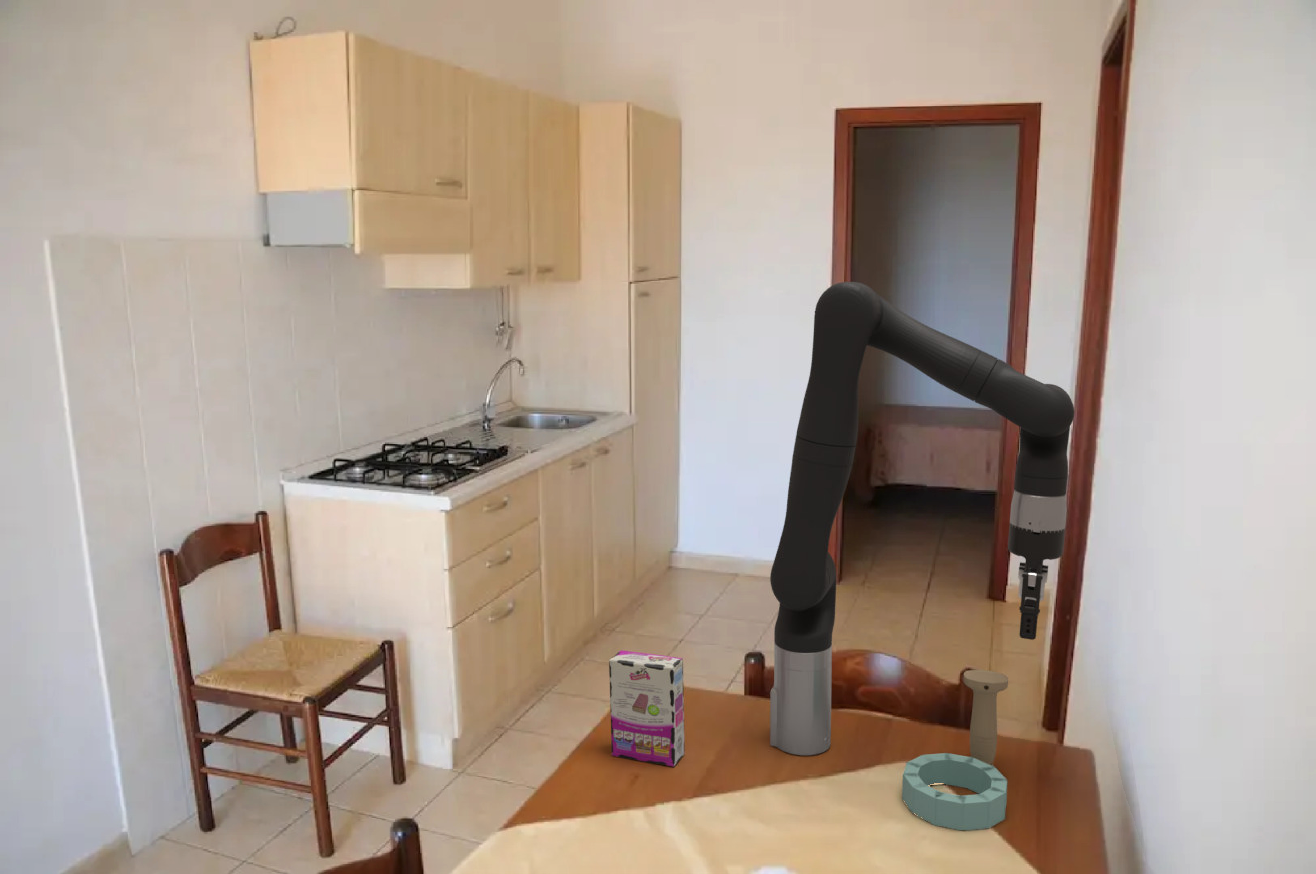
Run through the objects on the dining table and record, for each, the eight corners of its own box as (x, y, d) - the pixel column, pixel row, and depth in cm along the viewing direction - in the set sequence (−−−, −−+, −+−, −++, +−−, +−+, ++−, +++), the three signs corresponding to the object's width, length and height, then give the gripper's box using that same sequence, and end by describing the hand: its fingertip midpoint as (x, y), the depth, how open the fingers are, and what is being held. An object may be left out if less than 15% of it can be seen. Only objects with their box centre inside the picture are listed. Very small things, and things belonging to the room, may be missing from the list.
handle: (1005, 778, 143) (1009, 684, 141) (960, 773, 145) (964, 680, 143) (1003, 763, 148) (1007, 672, 146) (960, 758, 150) (963, 668, 148)
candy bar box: (685, 754, 153) (685, 657, 150) (674, 768, 148) (673, 668, 146) (622, 742, 157) (620, 648, 154) (609, 756, 152) (607, 659, 150)
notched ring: (896, 818, 133) (896, 791, 133) (910, 771, 146) (911, 747, 145) (1002, 839, 128) (1003, 811, 127) (1008, 788, 141) (1009, 763, 140)
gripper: (1012, 509, 145) (1004, 610, 148) (1007, 530, 132) (998, 640, 135) (1065, 514, 143) (1056, 617, 145) (1065, 537, 130) (1055, 649, 132)
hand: (1028, 628), depth 140 cm, fingers open, 8 cm apart
